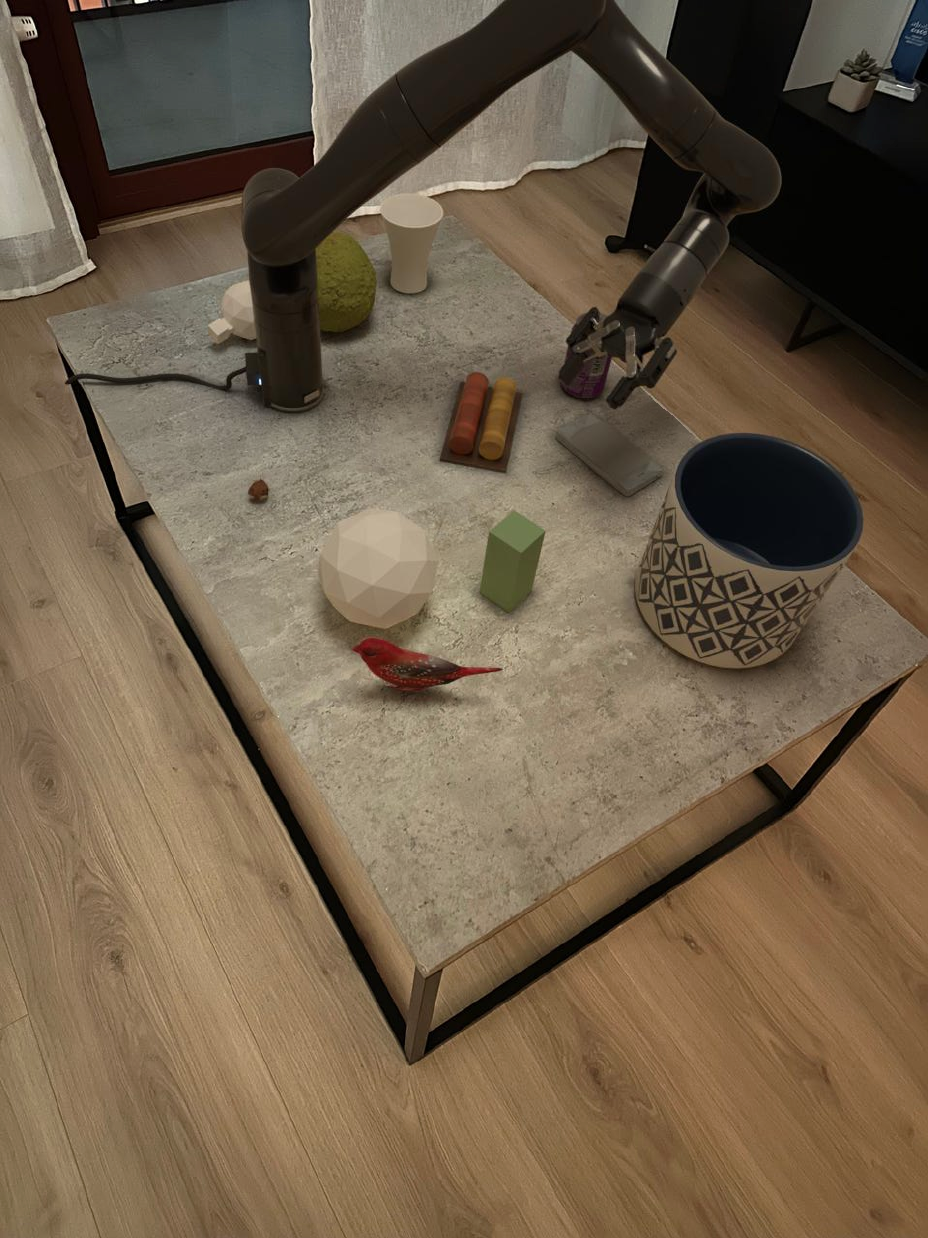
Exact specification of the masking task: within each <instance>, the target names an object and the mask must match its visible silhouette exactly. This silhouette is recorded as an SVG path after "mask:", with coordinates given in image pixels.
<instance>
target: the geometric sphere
mask: <svg viewBox="0 0 928 1238" xmlns="http://www.w3.org/2000/svg"><path fill="white" fill-rule="evenodd" d="M318 558H319V560H318V572H317V573H318V574H317V576H318V579H319V582H320V585H321V587H322V591H323V593H324V595H325V597H326V598H327V599H328V601H329V602H330V604H331V605H332V607H334V608H335V609H336V610H337V611H338V612H339V613H340V614H341V615H342V616H343V617H344V618H345V619H346V620H347V621H349V622H351V623H355V624H359V625H364V626H369V627H373V628H374V627H375V628H378V629H383V630H387V629H388V628H391V627H393V626H395V625H397V624H399V623H401V622H403V621H405V620H408V619H410V618H413V616H415V615H418V614H419V612H420V610H421V609H422V608H423V607H424V605H425V604H426V602H427V601H428V599H429V598H430V596H432V593H433V592H434V587H435V581H436V578H437V577H436V575H437V570H438V566H439V559H438V556H437V554H436V552H435V550H434V548H433V545H432V543H431V541H430V539H429V537H428V535H427V532H426V530H425V529H423V528H422V527H420V526H419V525H417V524H416V523H414V522H413V521H411V519H409V518H407V517H406V516H404V515H403V514H401V513H400V512H398V511H394V510H387V509H380V508H373V507H370V508H368V509H366V510H362V511H361V512H358V513H356V514H353V515H350V516H349V517H346V518H344V519H341V520H339V521H337V523H336V525H335V526H334V528H333V529H332V532H331V534H330V535H329V537H328V539H327V541H326V542H325V544H324V545H323V547H322V549H321V551H320V552H319V557H318Z"/></svg>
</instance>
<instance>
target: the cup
mask: <svg viewBox="0 0 928 1238" xmlns="http://www.w3.org/2000/svg"><path fill="white" fill-rule="evenodd" d="M379 212H380V215H381V219H382V221H383V226H384V228H385V232H386V235H387V238H388V242H389V243H388V244H389V249H390V257H391V274H390V285H391V287H392V288H393V289H394V290H396V291H397V292H400V293H403V294H418V293H420V292H422V291H424V290H425V289H426V288H427V286H428V271H427V270H428V261H429V257H430V253H431V248H432V245H433V242H434V240H435V237H436V234H437V232H438V230H439V227H440V224H441V223H442V220H443V217H444V210H443V207H442V205H440V203H439V202H437V200H434V199H433V198H431V197H428V196H426V195H421V194H418V193H399V194H394V195H391V196H389V197H387V198H386V199H384V200H383V201H382V203H381V204H380V206H379Z"/></svg>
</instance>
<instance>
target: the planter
mask: <svg viewBox="0 0 928 1238" xmlns="http://www.w3.org/2000/svg"><path fill="white" fill-rule="evenodd" d="M864 521H865V520H864V513H863V508H862V504H861V502H860V500H859V497H858V495H857V493H856V492H855V490H854V487H852V486H851V484H850V482H848V479H846V477H845V476H844V475H843V474H842V473H841V472H840V471H839V470H838V469H837V468H836V467H835V466H833V465H832V464H831V463H829V462H828V461H827V460H826V459H825V458H823V457H821V456H819V454H817V453H816V452H814V451H812V450H810V449H808V448H806V447H804V446H802V445H800V444H798V443H795V442H791V441H790V440H787V439H784V438H780V437H776V436H773V435H767V434H762V433H755V432H753V433H752V432H731V433H724V434H719V435H716V436H712V437H709V438H707V439H705V440H703V441H701V442H698V443H697V444H695V445H694V446H692V448H690V449H689V450H688V451H686V453H684V455H683V456H681V458H680V461H679V462H678V464H677V465H676V468H675V471H674V474H673V475H672V478H671V481H670V483H669V486H668V488H667V491H666V493H665V496H664V499H663V501H662V504H661V507H660V510H659V512H658V515H657V517H656V520H655V522H654V525H653V528H652V530H651V533H650V536H649V539H648V541H647V544H646V546H645V549H644V552H643V554H642V557H641V560H640V563H639V565H638V569H637V572H636V575H635V582H634V593H635V599H636V603H637V605H638V609H639V611H640V613H641V615H642V617H643V619H644V620H645V622H646V623H647V625H648V626H649V627H650V629H651V630H652V631H653V632H654V633H655V635H657V637H659V638H660V640H662V641H663V642H664V643H665V644H666V645H668V646H669V647H670V648H672V649H673V650H675V651H676V652H678V653H679V654H681V655H683V656H685V657H687V658H689V659H692V660H694V661H696V662H699V663H702V664H705V665H709V666H711V667H718V668H722V669H723V668H724V669H747V668H753V667H757V666H763V665H765V664H767V663H770V662H771V661H774V660H776V659H777V658H779V657H781V656H782V655H784V653H785V652H786V651H787V650H788V649H789V648H790V647H792V645H793V643H794V642H795V640H796V639H797V637H798V636H799V634H800V633H801V631H802V630H803V628H804V627H805V625H806V624H807V622H808V621H809V620H810V618H811V616H812V615H813V613H814V612H815V610H816V609H817V608H818V606H819V605H820V603H821V601H822V600H823V598H824V597H825V595H826V594H827V592H828V591H829V589H830V588H831V586H832V584H834V582H835V580H836V579H837V577H838V576H839V574H840V572H841V571H842V569H843V568H844V566H845V565H846V563H847V562H848V560H849V559H850V557H851V555H852V554H853V552H854V551H855V549H856V548H857V546H858V545H859V543H860V541H861V538H862V535H863V532H864Z"/></svg>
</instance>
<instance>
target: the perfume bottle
mask: <svg viewBox="0 0 928 1238" xmlns="http://www.w3.org/2000/svg"><path fill="white" fill-rule="evenodd" d="M207 334H208V336H209V337H210V338H211V339H212V340H213V341H214V342H215V343H216V344H217V345H219V344H221V343H222V342H224V341H225V340H227V339H229V338H230V335H231V334H233V335H234V336H236V337H240V338H244V339H246V340H250V341H253V340H256V332H255V323H254V315H253V306H252V297H251V291H250V283H249V279H246V280H243V281H241V282H238V283H235V284H232V285H230V286H229V287H228V289H227V290H225V292H224V293H223V296H222V298H221V318H220V317H219V318H217V319H215V320H214V321H212V322H211V323H209V324H207Z"/></svg>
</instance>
